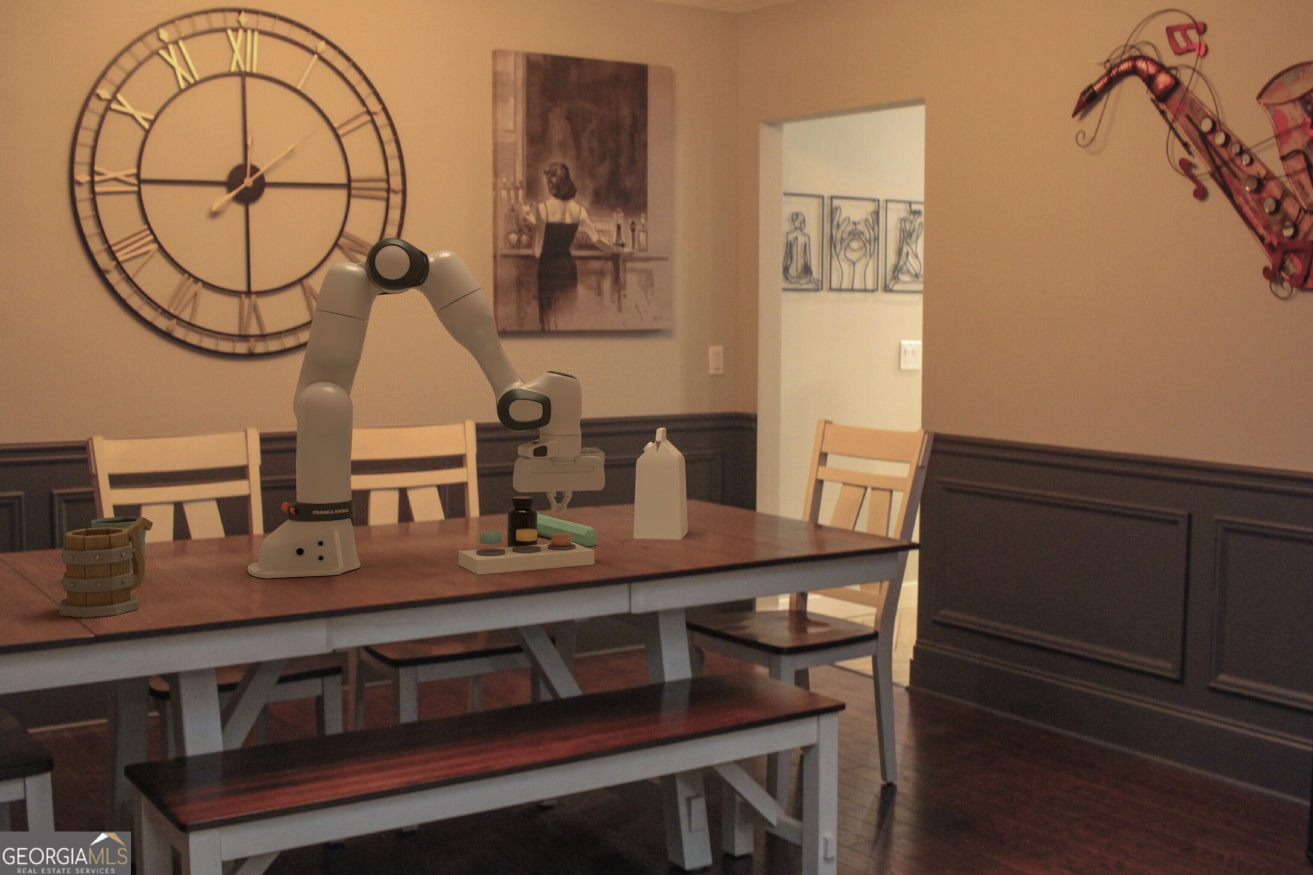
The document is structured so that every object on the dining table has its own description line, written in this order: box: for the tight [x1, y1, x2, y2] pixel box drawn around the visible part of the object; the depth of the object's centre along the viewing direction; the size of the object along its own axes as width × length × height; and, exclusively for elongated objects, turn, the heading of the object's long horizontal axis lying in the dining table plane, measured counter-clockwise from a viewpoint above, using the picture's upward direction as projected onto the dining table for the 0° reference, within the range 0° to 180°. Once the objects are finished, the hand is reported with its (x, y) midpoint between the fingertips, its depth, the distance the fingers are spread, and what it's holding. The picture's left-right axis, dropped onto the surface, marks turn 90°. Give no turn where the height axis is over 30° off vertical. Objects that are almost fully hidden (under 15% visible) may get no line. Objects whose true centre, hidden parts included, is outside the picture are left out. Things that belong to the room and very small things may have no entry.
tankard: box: [59, 516, 154, 619], centre depth 229 cm, size 20×13×15 cm, turn 158°
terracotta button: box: [550, 533, 572, 546], centre depth 274 cm, size 4×4×2 cm
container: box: [536, 511, 598, 548], centre depth 304 cm, size 6×6×25 cm
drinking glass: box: [90, 516, 147, 569], centre depth 254 cm, size 10×10×12 cm
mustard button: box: [516, 529, 538, 541], centre depth 271 cm, size 4×4×2 cm
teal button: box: [479, 530, 502, 545], centre depth 267 cm, size 4×4×2 cm
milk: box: [633, 427, 689, 541], centre depth 310 cm, size 12×12×26 cm
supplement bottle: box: [506, 495, 538, 547], centre depth 289 cm, size 7×7×12 cm
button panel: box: [458, 542, 595, 576], centre depth 271 cm, size 26×12×4 cm, turn 117°
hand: (558, 512), depth 274 cm, fingers closed
